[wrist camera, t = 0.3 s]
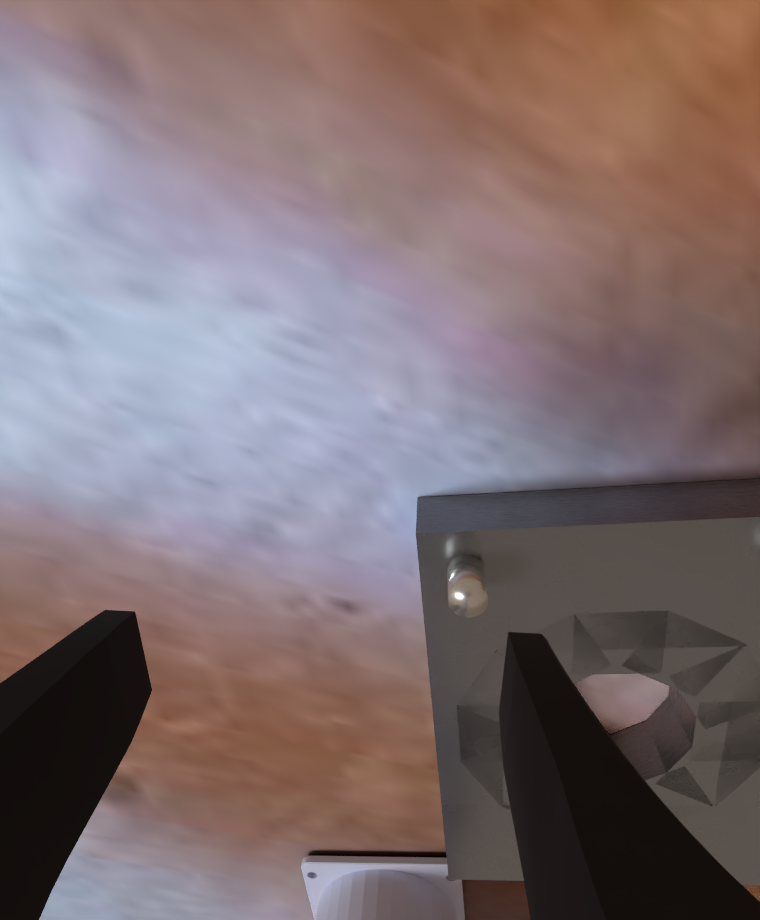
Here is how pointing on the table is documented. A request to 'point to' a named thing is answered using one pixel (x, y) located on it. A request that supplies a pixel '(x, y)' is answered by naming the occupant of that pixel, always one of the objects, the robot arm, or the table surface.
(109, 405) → the table surface
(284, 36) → the table surface
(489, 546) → the jig
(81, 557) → the table surface
